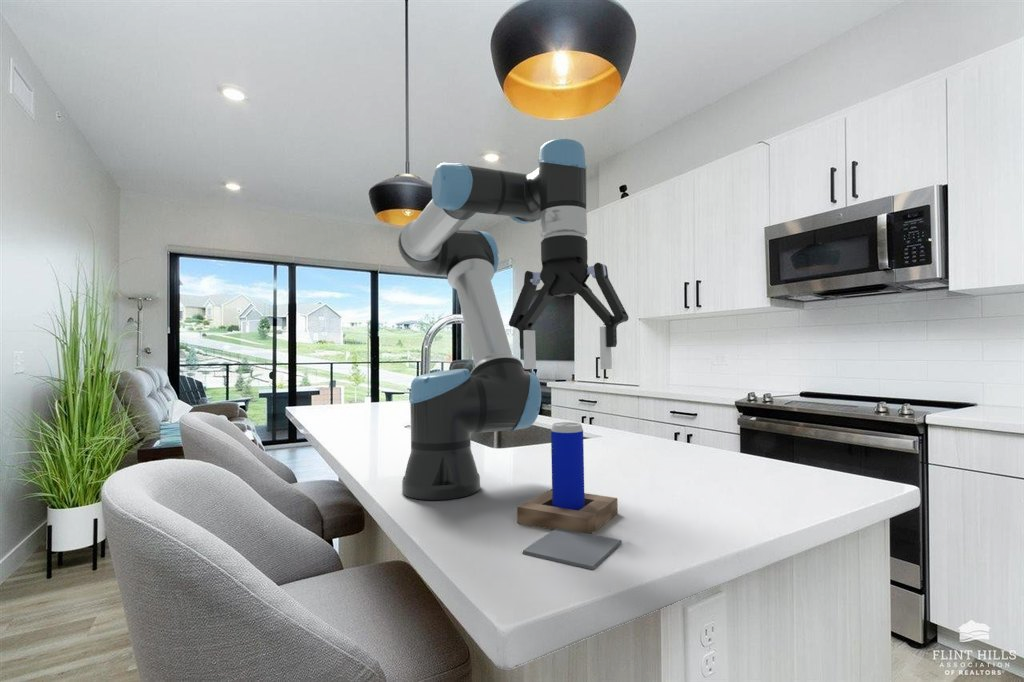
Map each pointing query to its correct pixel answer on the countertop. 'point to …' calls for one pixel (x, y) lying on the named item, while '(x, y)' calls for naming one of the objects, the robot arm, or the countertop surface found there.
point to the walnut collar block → (568, 513)
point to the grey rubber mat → (573, 548)
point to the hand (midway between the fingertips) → (566, 369)
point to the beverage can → (567, 465)
